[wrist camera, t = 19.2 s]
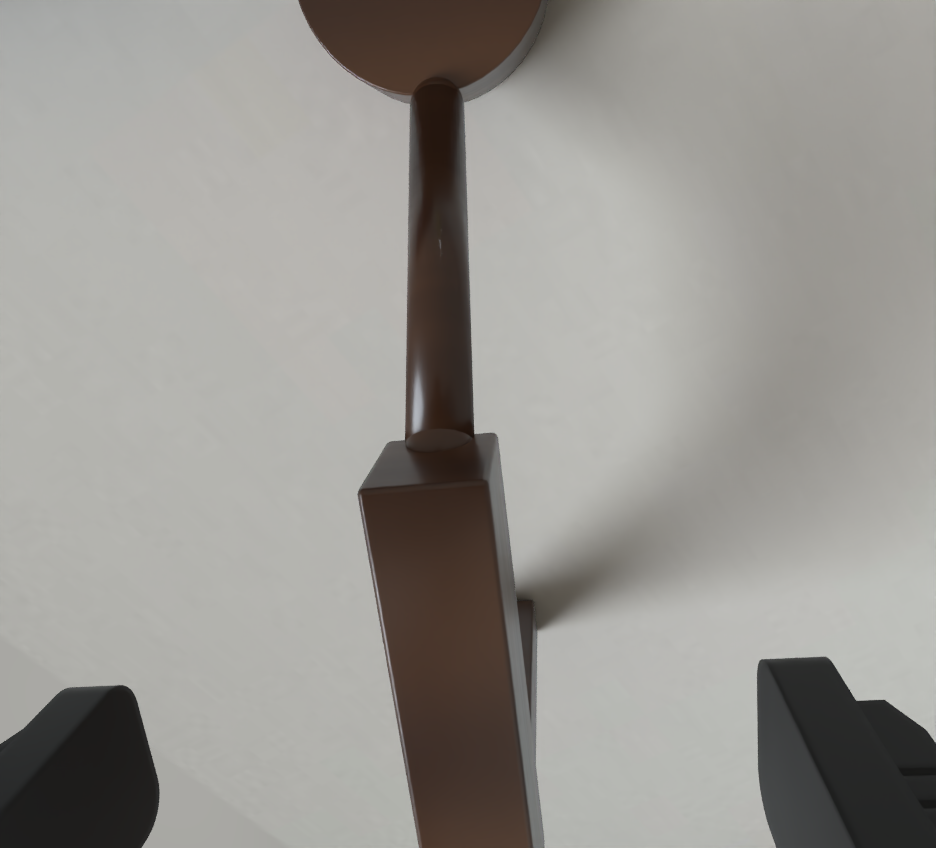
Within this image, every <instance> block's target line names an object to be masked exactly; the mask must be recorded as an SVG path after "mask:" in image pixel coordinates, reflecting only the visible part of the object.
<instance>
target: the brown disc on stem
mask: <svg viewBox="0 0 936 848" xmlns="http://www.w3.org/2000/svg"><path fill="white" fill-rule="evenodd" d="M298 1H299V4H300V7H301V9H302V12H303V14H304V16H305V18H306V20H307V22H308V24H309V26H310V28H311V30H312V31H313V33H314V35H315V36H316V38H317V39H318V41H319V42H320V44H321V45H322V46H323V47H324V49H325V50H326V51H327V52H328V53H329V55H330V56H331V57H332V58H333V59H334V60H335V61H336V62H337V63H338V64H340V65H341V66H342V67H343V68H344V69H345V70H347V71H348V72H349V73H351V74H352V75H354V76H355V77H356V78H358V79H359V80H361V81H363V82H364V83H366V84H368V85H369V86H371V87H373V88H374V89H376V90H378V91H380V92H382V93H383V94H385V95H387V96H389V97H391V98H393V99H396V100H399V101H401V102H404V103H408V104H410V145H409V215H408V285H407V355H406V425H405V440H403V441H392V442H389V443H387V445H386V446H385V448H384V449H383V451H382V453H381V454H380V456H379V458H378V459H377V461H376V463H375V464H374V466H373V468H372V469H371V471H370V472H369V474H368V476H367V477H366V479H365V481H364V482H363V484H362V486H361V487H360V489H359V491H358V500H359V505H360V511H361V517H362V523H363V528H364V534H365V540H366V546H367V551H368V557H369V563H370V568H371V574H372V580H373V586H374V591H375V597H376V603H377V609H378V614H379V620H380V626H381V632H382V637H383V643H384V649H385V655H386V660H387V666H388V672H389V678H390V683H391V689H392V695H393V701H394V706H395V712H396V718H397V724H398V729H399V735H400V741H401V747H402V752H403V758H404V764H405V770H406V775H407V781H408V787H409V793H410V798H411V804H412V810H413V816H414V821H415V827H416V833H417V839H418V844H419V848H544V832H543V824H542V815H541V806H540V798H539V789H538V780H537V772H536V699H537V625H536V616H535V607H534V602H533V600H523V601H517V599H516V590H515V581H514V573H513V564H512V555H511V547H510V538H509V529H508V521H507V512H506V503H505V495H504V486H503V477H502V469H501V460H500V451H499V443H498V437H497V435H496V434H494V433H483V434H474V413H473V380H472V347H471V315H470V282H469V249H468V216H467V183H466V151H465V118H464V102H466V101H469V100H472V99H475V98H477V97H479V96H481V95H483V94H485V93H486V92H488V91H490V90H491V89H493V88H494V87H496V86H497V85H498V84H500V83H501V82H503V81H504V80H505V79H506V78H507V77H508V76H509V75H510V74H511V73H512V72H513V71H514V70H515V69H516V68H517V66H518V65H519V64H520V63H521V62H522V60H523V59H524V58H525V56H526V55H527V53H528V51H529V50H530V48H531V47H532V45H533V43H534V41H535V39H536V37H537V35H538V33H539V30H540V28H541V25H542V22H543V19H544V16H545V13H546V8H547V3H548V0H298Z"/></svg>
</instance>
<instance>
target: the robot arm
mask: <svg viewBox="0 0 936 848" xmlns="http://www.w3.org/2000/svg"><path fill="white" fill-rule="evenodd" d="M757 709H758V772H759V782H760V790H761V796H762V801H763V806H764V810H765V814H766V818H767V822H768V825H769V828H770V831H771V834H772V836H773V839H774V842H775V845H776V848H936V743H935V742H934V740H933V739H932V738H931V736H930V735H929V733H928V732H927V731H926V730H925V729H924V728H923V727H921V726H920V725H918V724H917V723H916V722H914V721H913V720H912V719H910V718H909V717H907V716H906V715H905V714H903V713H902V712H900V711H899V710H898V709H896V708H895V707H894V706H892V705H891V704H889V703H888V702H887V701H885V700H869V701H856V700H855V698H854V697H853V695H852V693H851V692H850V690H849V689H848V687H847V685H846V684H845V682H844V681H843V679H842V677H841V676H840V674H839V673H838V671H837V669H836V668H835V666H834V665H833V663H832V662H831V660H830V659H828V658H827V657H808V658H785V659H762V660H760V661H759V664H758V670H757ZM158 805H159V783H158V778H157V774H156V771H155V767H154V763H153V759H152V756H151V752H150V748H149V744H148V741H147V737H146V733H145V730H144V726H143V722H142V718H141V715H140V711H139V707H138V703H137V700H136V697H135V695H134V693H133V692H132V691H131V689H129V688H128V687H126V686H123V685H118V686H95V687H72V688H67V689H64V690H62V691H61V692H60V693H58V694H57V695H56V696H55V697H54V698H53V699H52V700H51V701H50V702H49V703H48V704H47V705H46V706H45V707H44V708H43V709H42V710H41V711H40V712H39V714H38V715H36V716H35V718H34V719H33V720H32V721H31V722H30V723H29V724H28V725H27V726H26V727H25V728H24V729H22V730H21V731H19V732H18V733H16V734H15V735H13V736H12V737H10V738H9V739H8V740H6V741H4V742H3V743H1V744H0V848H142V846H143V844H144V843H145V841H146V840H147V838H148V836H149V834H150V832H151V830H152V828H153V825H154V822H155V819H156V816H157V812H158Z"/></svg>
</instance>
